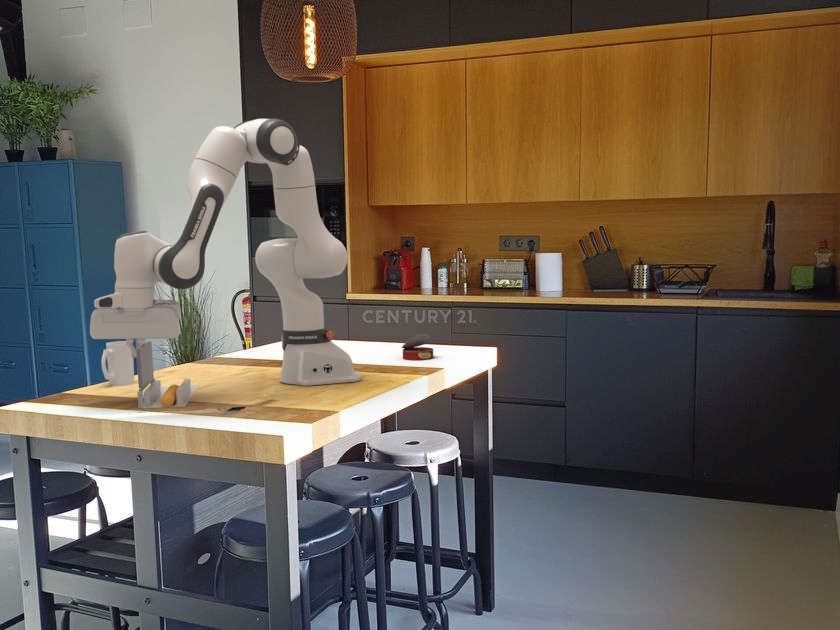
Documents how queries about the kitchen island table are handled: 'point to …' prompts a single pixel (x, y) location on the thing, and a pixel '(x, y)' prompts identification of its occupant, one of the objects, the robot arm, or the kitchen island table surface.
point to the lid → (145, 365)
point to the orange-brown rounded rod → (169, 396)
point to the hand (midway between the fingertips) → (136, 357)
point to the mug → (118, 364)
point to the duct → (156, 392)
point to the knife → (233, 410)
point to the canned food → (417, 348)
